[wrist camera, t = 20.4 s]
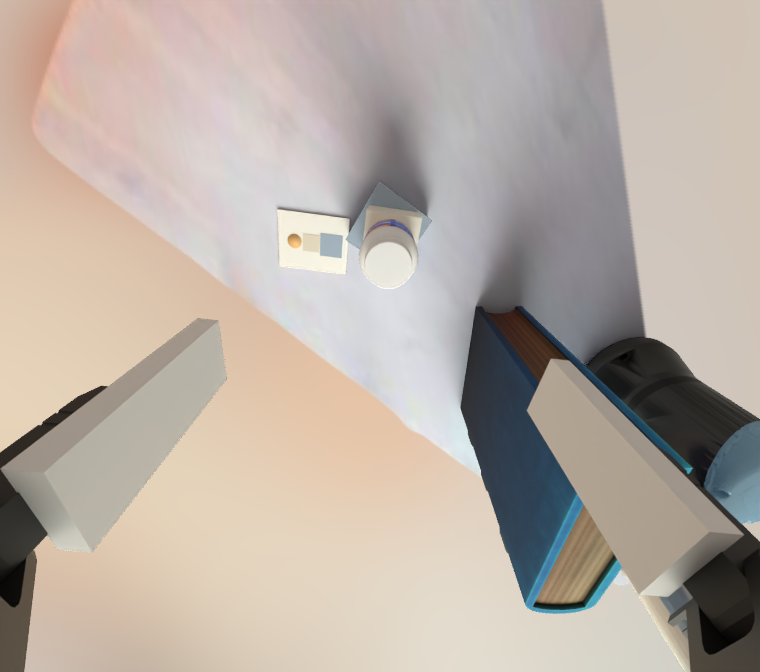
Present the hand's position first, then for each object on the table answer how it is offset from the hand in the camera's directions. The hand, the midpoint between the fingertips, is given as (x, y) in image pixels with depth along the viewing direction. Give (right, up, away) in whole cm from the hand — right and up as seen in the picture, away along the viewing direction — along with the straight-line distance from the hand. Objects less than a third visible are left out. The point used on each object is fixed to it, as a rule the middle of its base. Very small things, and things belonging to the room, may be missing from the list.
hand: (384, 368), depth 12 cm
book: (+20, -4, +42) cm, 46 cm away
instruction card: (-10, +15, +32) cm, 36 cm away
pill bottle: (+1, +12, +21) cm, 24 cm away
